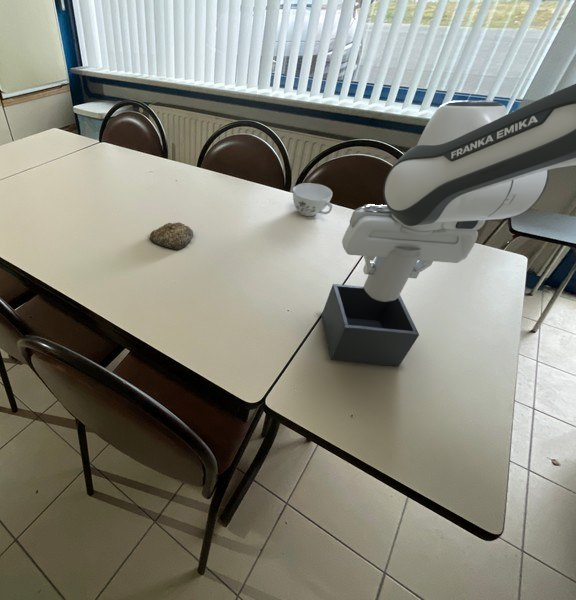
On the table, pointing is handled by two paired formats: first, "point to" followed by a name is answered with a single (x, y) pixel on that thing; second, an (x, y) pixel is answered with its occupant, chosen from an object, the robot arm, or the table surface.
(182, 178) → the table surface
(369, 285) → the beverage can
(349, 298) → the waste bin
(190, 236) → the speckled grey pebble
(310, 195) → the teacup
